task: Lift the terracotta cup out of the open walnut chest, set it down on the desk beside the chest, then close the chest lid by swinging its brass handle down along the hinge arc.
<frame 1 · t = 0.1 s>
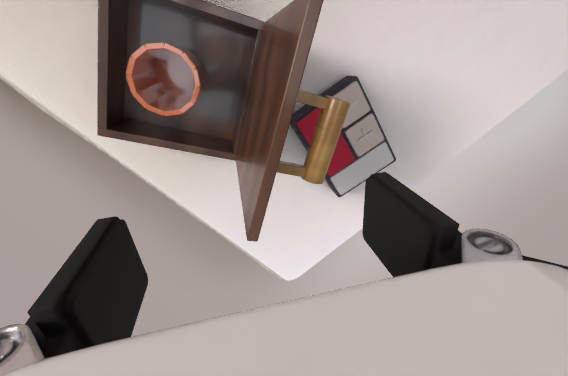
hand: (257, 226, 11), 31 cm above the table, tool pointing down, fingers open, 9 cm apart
cup: (178, 74, 35), point 1 cm above the table, touching chest
calculator: (338, 136, 44), on the table
chest: (187, 76, 36), on the table
lid: (284, 117, 25), point 16 cm above the table, hinge at 90.0°
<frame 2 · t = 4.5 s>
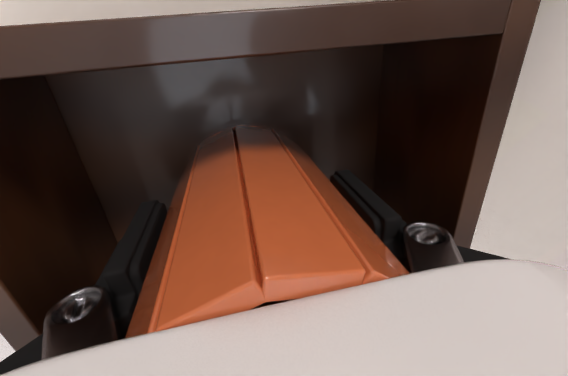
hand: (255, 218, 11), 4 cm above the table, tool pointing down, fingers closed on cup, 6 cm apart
cup: (248, 185, 14), point 1 cm above the table, touching chest, gripper
chest: (249, 194, 15), on the table
when the fingers open (3 cm above the table, at t = 12.0 s): cup stays where it is, on the table.
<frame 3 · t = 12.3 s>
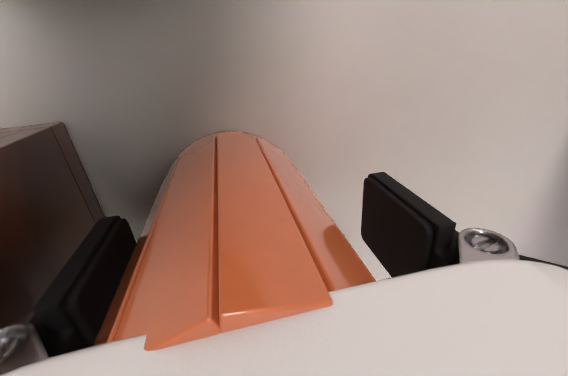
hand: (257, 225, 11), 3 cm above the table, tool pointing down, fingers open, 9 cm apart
cup: (233, 194, 14), on the table
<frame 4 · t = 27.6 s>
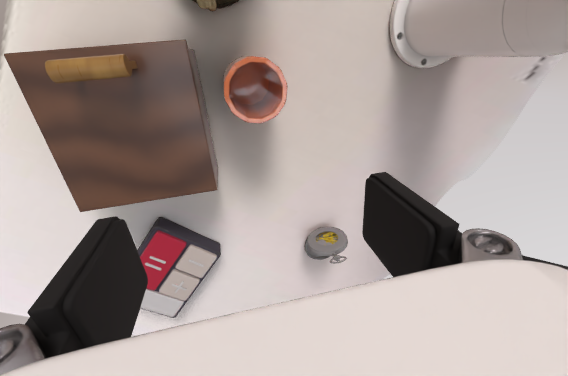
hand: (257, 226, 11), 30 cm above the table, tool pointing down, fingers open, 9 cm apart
cup: (247, 82, 37), on the table
calculator: (169, 261, 46), on the table
chest: (146, 121, 36), on the table
lid: (123, 137, 28), point 9 cm above the table, hinge at -0.2°, touching chest
pocket watch: (320, 236, 51), on the table
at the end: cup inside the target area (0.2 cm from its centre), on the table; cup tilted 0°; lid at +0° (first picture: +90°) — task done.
